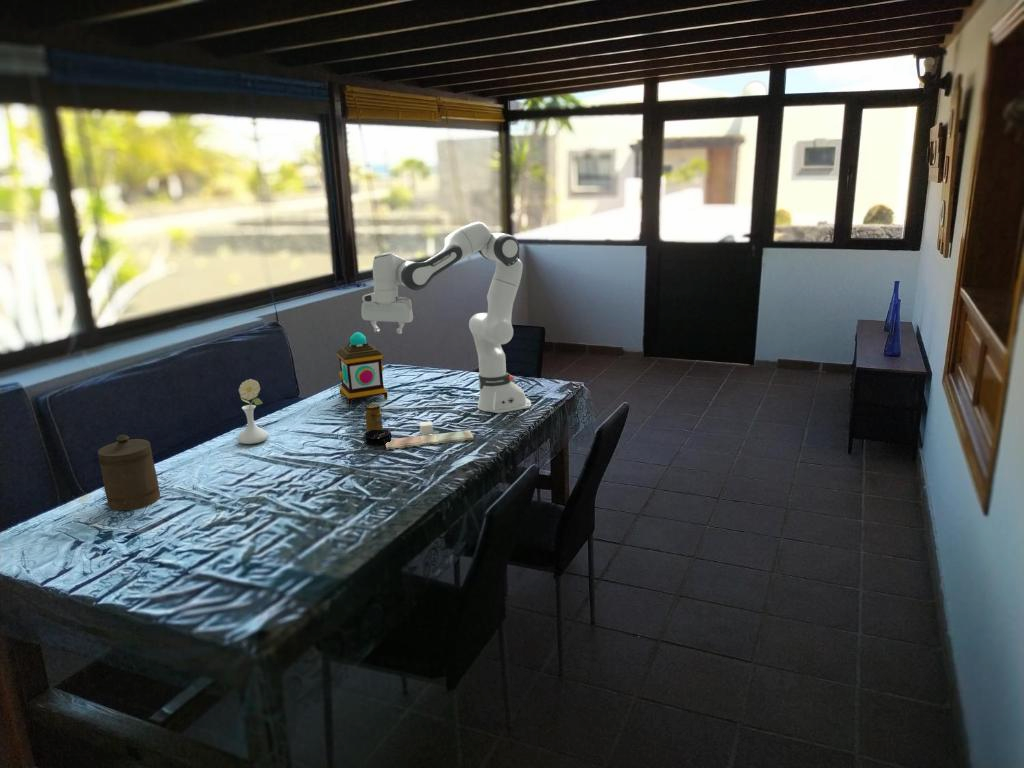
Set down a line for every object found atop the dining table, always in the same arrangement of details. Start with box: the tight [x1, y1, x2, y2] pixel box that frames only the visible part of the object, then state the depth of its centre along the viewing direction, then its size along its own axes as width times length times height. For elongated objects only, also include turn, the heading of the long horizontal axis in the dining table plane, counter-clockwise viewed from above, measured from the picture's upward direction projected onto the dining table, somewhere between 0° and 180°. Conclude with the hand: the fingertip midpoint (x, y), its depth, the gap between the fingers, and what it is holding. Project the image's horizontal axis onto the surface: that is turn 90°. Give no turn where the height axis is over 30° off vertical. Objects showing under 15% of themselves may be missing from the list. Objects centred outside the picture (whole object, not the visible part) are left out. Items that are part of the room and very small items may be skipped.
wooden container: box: [97, 434, 161, 512], centre depth 232 cm, size 15×15×22 cm
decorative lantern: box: [336, 331, 388, 406], centre depth 327 cm, size 20×20×30 cm
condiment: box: [362, 403, 384, 437], centre depth 281 cm, size 7×8×12 cm
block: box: [419, 420, 434, 436], centre depth 283 cm, size 4×4×4 cm
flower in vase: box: [236, 378, 270, 445], centre depth 279 cm, size 13×11×25 cm
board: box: [385, 429, 475, 451], centre depth 275 cm, size 32×8×1 cm, turn 103°
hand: (388, 332), depth 282 cm, fingers open, 8 cm apart
